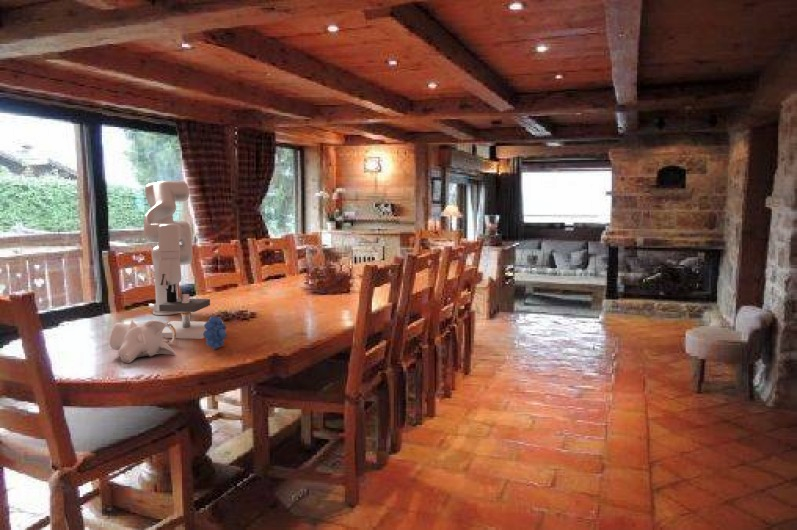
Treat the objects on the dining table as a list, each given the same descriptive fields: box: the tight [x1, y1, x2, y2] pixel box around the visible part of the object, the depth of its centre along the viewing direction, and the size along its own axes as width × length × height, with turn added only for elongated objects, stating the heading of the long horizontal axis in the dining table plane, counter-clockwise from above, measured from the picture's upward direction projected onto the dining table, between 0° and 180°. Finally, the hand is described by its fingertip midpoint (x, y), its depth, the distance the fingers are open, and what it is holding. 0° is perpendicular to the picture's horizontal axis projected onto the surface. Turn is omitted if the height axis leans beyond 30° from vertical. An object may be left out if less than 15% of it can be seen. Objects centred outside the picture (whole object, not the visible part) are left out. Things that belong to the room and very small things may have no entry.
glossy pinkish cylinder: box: [180, 293, 192, 328], centre depth 216 cm, size 4×4×13 cm
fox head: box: [109, 319, 176, 364], centre depth 180 cm, size 14×17×20 cm
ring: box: [163, 321, 177, 345], centre depth 198 cm, size 7×3×8 cm, turn 67°
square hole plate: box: [159, 298, 211, 313], centre depth 216 cm, size 14×14×2 cm
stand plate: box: [162, 320, 224, 340], centre depth 217 cm, size 22×20×2 cm
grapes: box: [203, 316, 228, 350], centre depth 191 cm, size 12×7×12 cm, turn 163°
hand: (171, 301), depth 216 cm, fingers closed
